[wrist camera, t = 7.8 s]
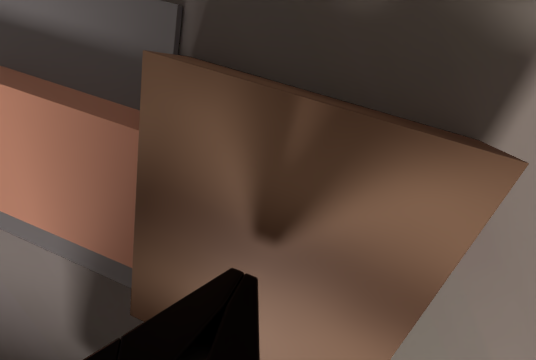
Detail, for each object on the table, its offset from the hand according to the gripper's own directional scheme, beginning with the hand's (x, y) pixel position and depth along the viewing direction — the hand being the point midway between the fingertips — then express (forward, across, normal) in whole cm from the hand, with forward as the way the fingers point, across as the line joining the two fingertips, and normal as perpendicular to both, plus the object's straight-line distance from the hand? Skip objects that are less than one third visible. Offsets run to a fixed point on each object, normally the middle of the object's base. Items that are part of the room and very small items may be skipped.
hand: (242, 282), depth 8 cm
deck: (+4, 0, 0) cm, 4 cm away
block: (+3, +9, 0) cm, 10 cm away
